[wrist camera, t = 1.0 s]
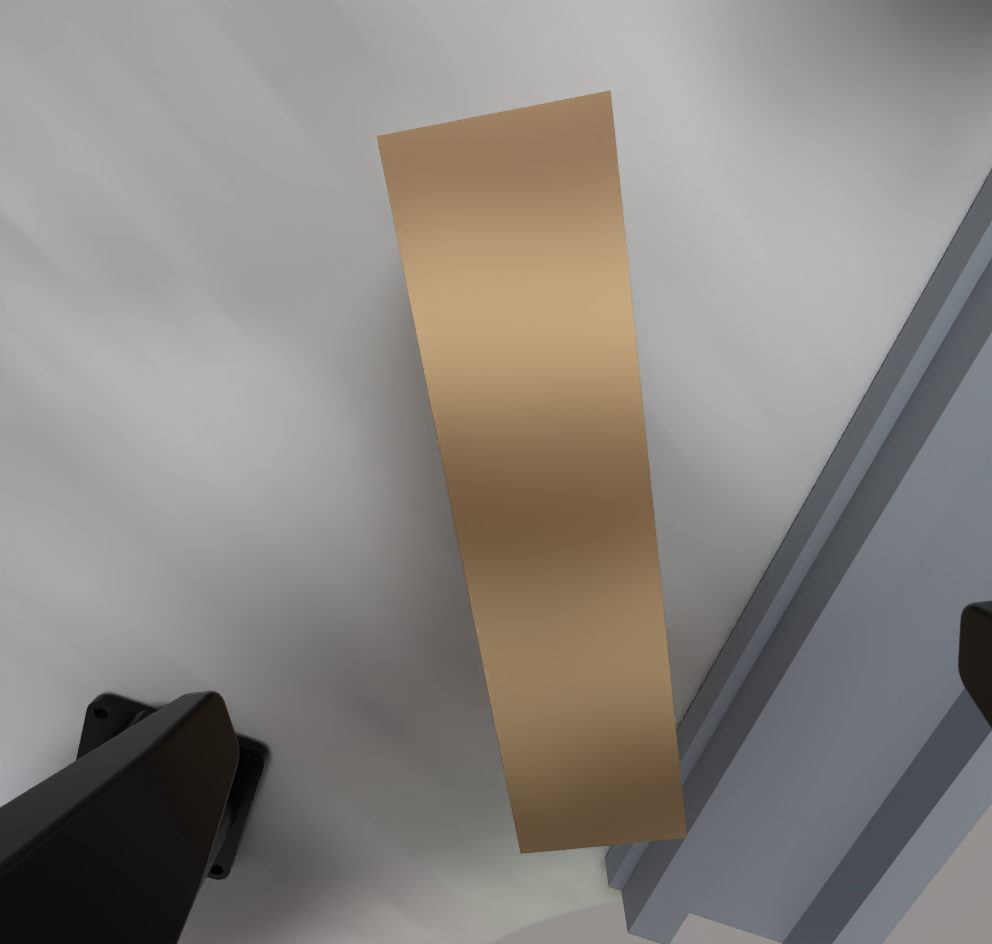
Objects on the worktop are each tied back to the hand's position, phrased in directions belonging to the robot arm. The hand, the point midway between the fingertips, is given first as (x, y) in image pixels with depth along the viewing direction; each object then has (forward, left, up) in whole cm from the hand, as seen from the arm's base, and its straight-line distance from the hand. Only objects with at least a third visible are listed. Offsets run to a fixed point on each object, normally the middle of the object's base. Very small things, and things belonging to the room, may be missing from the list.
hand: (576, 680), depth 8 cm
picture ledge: (-2, -13, -13) cm, 18 cm away
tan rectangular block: (0, 0, -13) cm, 13 cm away
